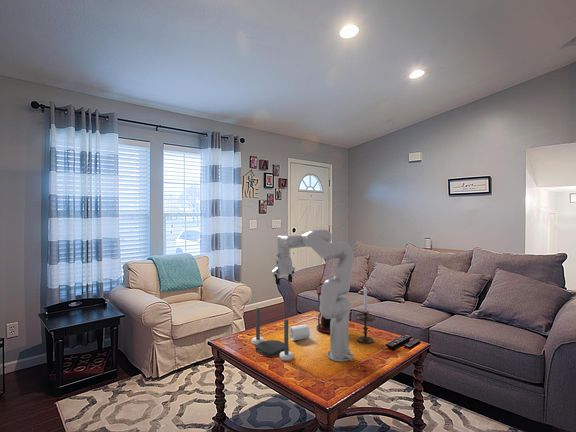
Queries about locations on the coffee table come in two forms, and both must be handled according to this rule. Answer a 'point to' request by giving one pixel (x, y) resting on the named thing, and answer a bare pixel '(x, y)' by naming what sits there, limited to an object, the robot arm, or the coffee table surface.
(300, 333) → the mug
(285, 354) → the post
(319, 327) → the hourglass
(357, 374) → the coffee table surface
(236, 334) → the coffee table surface
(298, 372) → the coffee table surface
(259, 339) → the far cord post
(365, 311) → the candlestick
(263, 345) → the media streaming box
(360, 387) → the coffee table surface
